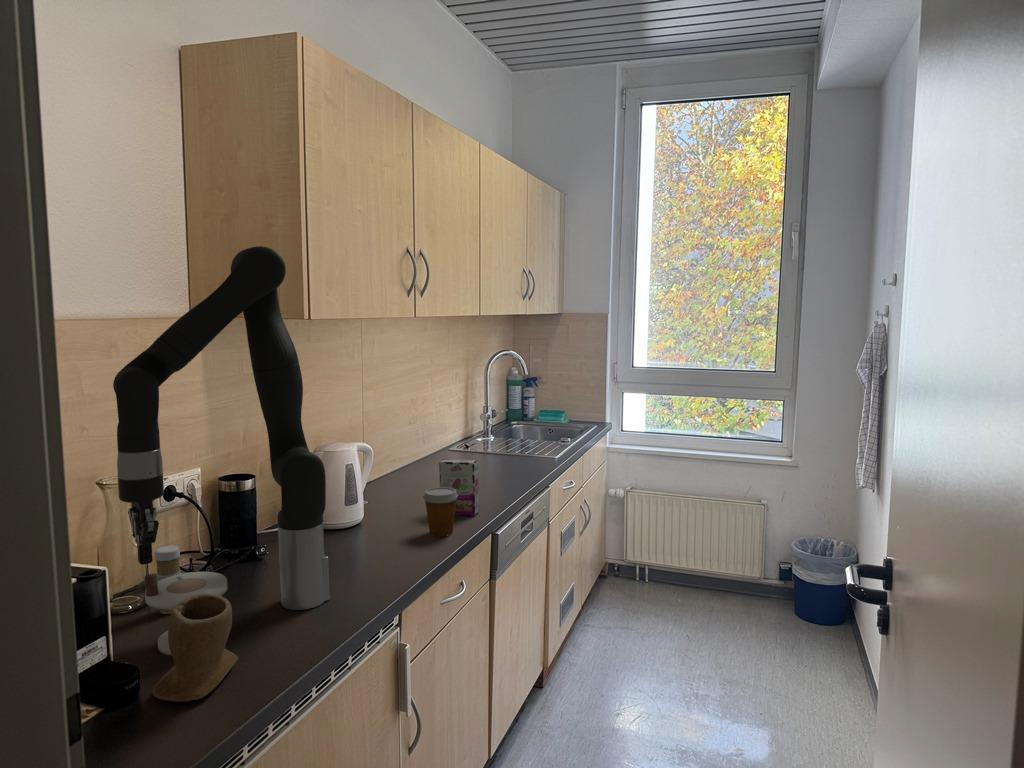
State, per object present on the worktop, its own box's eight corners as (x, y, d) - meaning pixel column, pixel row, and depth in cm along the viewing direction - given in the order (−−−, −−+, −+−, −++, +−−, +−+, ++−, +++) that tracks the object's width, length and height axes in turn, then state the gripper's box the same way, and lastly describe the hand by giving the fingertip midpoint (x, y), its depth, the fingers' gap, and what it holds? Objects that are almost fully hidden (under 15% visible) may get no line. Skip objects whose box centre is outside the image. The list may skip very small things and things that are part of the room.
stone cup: (213, 710, 112) (208, 619, 110) (142, 706, 113) (136, 616, 111) (257, 661, 127) (253, 581, 125) (194, 658, 128) (189, 579, 126)
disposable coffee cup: (450, 540, 190) (449, 497, 189) (418, 537, 193) (417, 494, 192) (463, 529, 199) (463, 488, 198) (433, 526, 202) (432, 485, 201)
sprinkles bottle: (177, 603, 151) (174, 543, 150) (186, 610, 148) (182, 548, 146) (155, 610, 148) (151, 548, 146) (164, 617, 145) (159, 553, 143)
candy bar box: (479, 512, 216) (479, 459, 214) (475, 516, 211) (474, 463, 209) (445, 509, 219) (444, 457, 217) (439, 514, 214) (438, 461, 212)
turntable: (213, 573, 143) (212, 549, 142) (237, 594, 132) (236, 569, 132) (137, 591, 134) (135, 566, 134) (156, 616, 123) (154, 588, 123)
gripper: (171, 476, 130) (176, 568, 132) (153, 464, 140) (157, 549, 142) (126, 483, 125) (131, 577, 127) (110, 469, 135) (115, 557, 137)
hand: (145, 562), depth 134 cm, fingers closed
